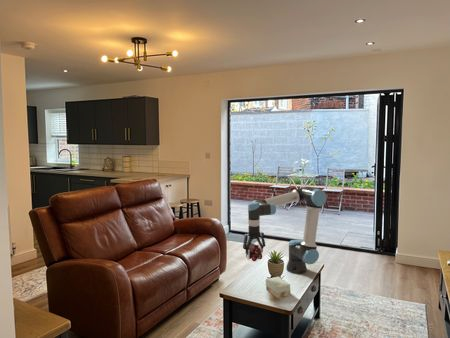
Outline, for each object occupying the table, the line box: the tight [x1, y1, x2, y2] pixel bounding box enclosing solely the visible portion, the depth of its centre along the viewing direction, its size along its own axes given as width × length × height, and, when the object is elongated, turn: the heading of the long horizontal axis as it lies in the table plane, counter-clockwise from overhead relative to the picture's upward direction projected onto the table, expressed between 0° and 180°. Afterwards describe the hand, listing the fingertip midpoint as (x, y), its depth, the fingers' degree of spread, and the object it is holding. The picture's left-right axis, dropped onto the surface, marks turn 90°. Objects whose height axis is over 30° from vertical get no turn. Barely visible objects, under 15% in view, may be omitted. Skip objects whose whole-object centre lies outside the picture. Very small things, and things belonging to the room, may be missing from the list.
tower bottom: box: [265, 284, 291, 299], centre depth 229 cm, size 10×14×4 cm
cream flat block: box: [265, 276, 291, 293], centre depth 229 cm, size 10×14×4 cm
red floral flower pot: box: [245, 242, 263, 262], centre depth 237 cm, size 7×12×10 cm, turn 41°
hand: (254, 257), depth 237 cm, fingers closed on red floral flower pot, 8 cm apart
